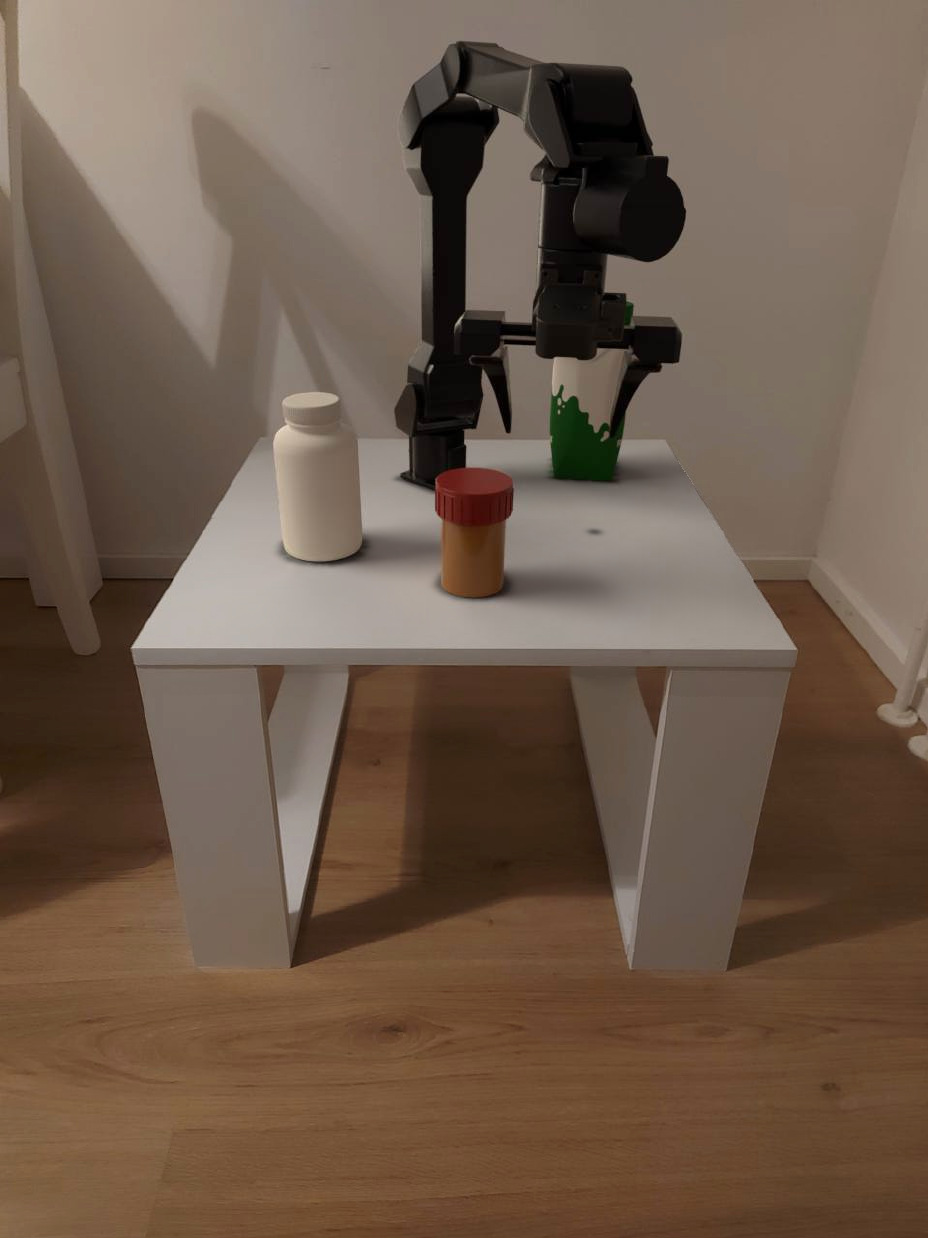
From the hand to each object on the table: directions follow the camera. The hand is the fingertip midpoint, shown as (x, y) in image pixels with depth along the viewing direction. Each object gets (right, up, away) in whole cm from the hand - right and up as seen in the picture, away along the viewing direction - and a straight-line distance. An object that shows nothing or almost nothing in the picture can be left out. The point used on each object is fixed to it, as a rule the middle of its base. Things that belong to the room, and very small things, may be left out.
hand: (559, 434), depth 78 cm
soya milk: (+6, +2, +31) cm, 31 cm away
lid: (-8, -7, -1) cm, 10 cm away
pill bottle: (-23, -9, +10) cm, 26 cm away
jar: (-8, -13, +3) cm, 16 cm away
